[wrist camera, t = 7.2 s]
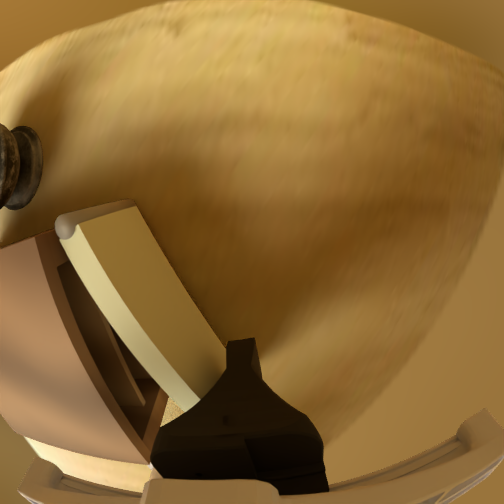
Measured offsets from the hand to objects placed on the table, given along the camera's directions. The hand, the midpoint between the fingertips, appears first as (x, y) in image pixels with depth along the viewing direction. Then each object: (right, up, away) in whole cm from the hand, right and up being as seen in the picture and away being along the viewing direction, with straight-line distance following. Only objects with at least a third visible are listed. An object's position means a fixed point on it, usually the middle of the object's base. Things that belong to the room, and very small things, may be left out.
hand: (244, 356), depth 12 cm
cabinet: (-11, +1, +2) cm, 11 cm away
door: (-3, +3, +2) cm, 4 cm away
